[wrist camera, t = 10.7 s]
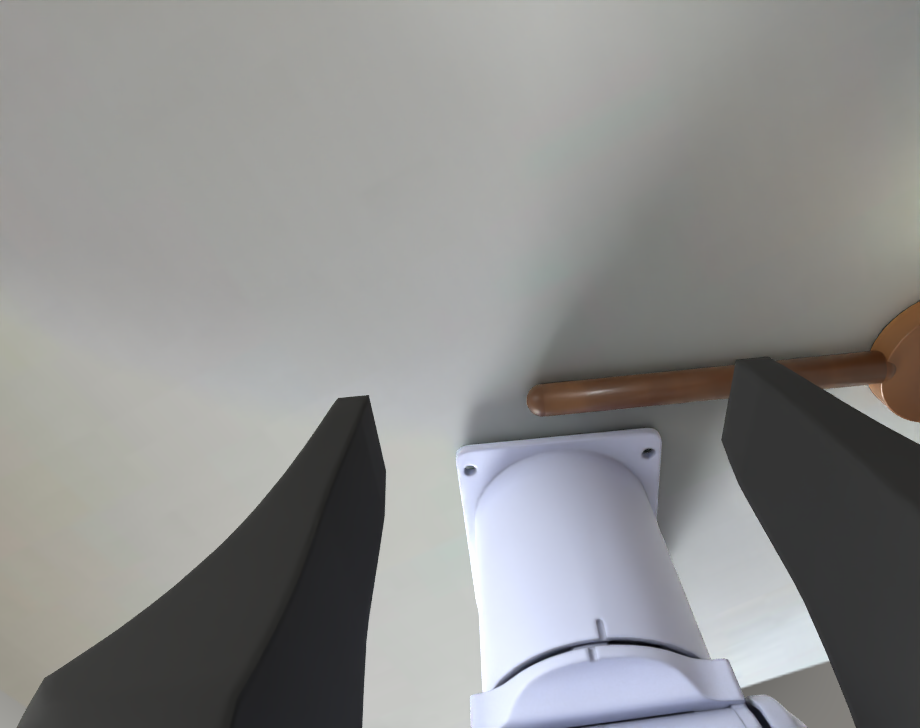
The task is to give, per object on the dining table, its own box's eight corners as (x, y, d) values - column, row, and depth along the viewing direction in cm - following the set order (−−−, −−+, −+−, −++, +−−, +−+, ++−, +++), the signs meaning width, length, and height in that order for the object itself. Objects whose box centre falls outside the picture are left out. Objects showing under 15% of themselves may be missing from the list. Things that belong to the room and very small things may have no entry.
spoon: (1031, 281, 21) (1060, 295, 20) (985, 401, 24) (1009, 419, 23) (520, 334, 22) (524, 351, 21) (528, 445, 25) (531, 464, 24)
